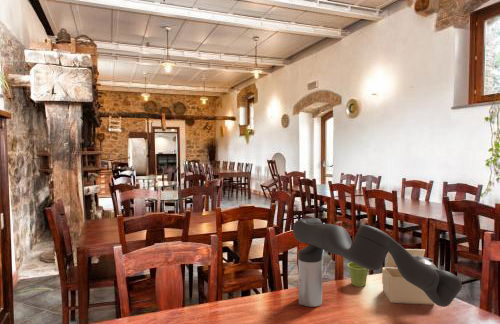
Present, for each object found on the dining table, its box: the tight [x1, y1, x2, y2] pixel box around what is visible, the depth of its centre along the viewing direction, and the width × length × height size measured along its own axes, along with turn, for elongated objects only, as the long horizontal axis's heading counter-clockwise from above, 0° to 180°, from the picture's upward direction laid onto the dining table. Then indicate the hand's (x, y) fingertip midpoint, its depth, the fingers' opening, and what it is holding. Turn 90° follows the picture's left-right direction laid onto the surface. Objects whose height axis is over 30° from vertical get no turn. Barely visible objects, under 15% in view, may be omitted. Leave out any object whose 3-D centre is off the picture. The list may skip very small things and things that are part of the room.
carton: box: [381, 266, 435, 306], centre depth 140 cm, size 17×12×10 cm
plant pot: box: [347, 261, 369, 288], centre depth 154 cm, size 9×9×9 cm
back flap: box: [385, 248, 426, 268], centre depth 142 cm, size 14×1×10 cm
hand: (407, 255), depth 138 cm, fingers closed
